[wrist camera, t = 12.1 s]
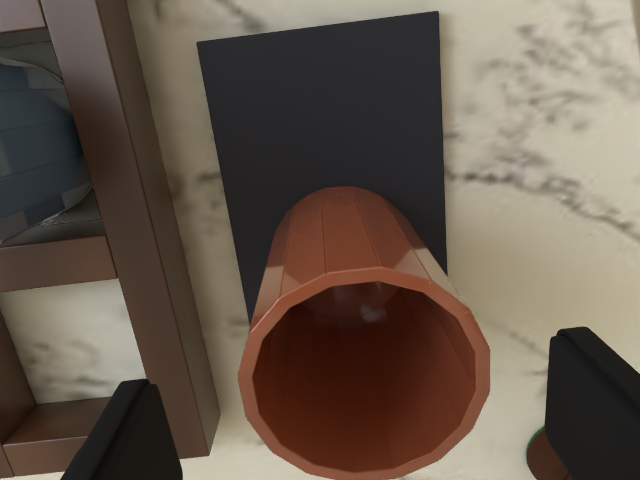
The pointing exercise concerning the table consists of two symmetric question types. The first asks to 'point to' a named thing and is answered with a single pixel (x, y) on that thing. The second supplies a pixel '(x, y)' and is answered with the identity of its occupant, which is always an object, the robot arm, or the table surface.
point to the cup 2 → (359, 344)
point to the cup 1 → (36, 149)
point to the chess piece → (545, 459)
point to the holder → (105, 241)
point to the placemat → (327, 125)
